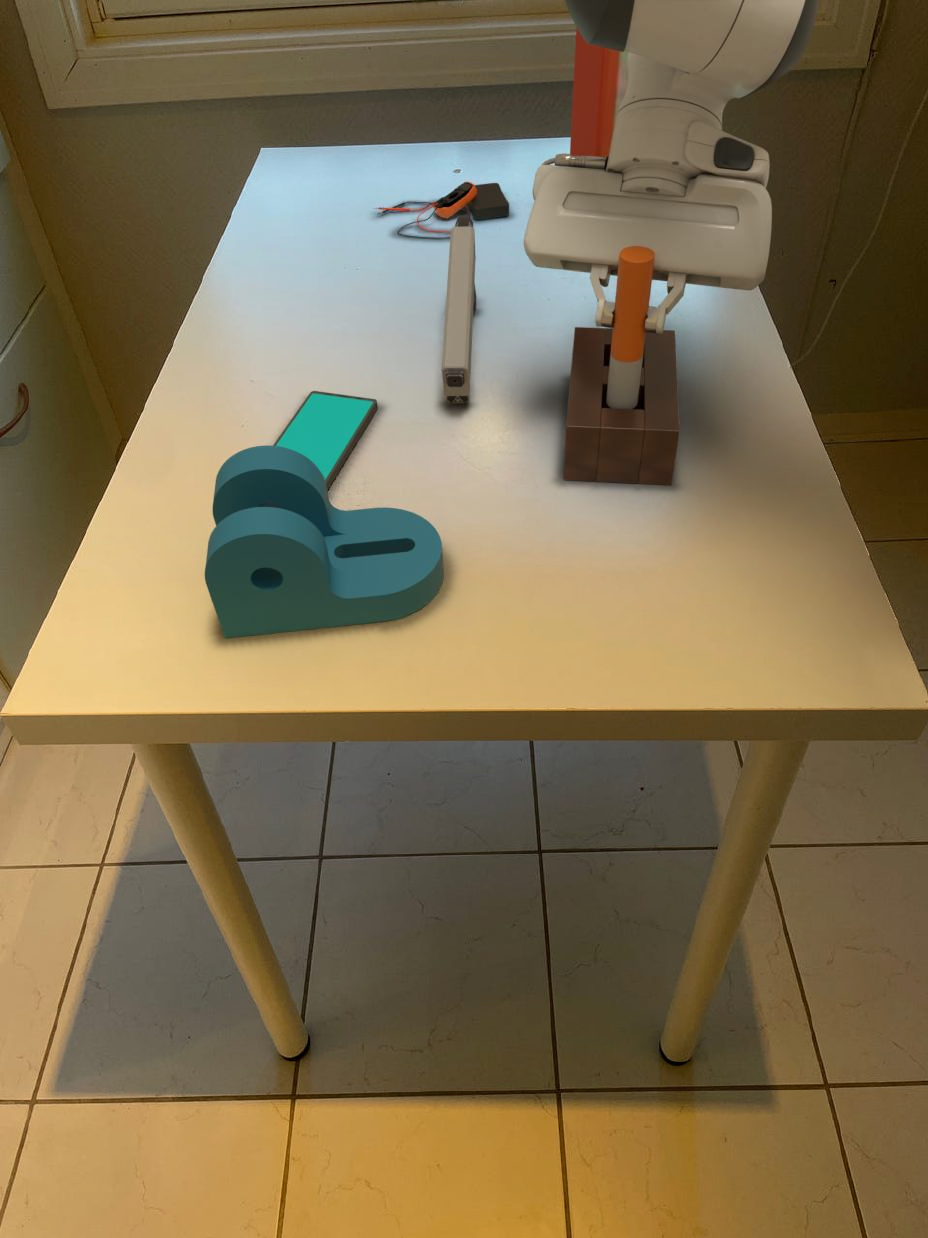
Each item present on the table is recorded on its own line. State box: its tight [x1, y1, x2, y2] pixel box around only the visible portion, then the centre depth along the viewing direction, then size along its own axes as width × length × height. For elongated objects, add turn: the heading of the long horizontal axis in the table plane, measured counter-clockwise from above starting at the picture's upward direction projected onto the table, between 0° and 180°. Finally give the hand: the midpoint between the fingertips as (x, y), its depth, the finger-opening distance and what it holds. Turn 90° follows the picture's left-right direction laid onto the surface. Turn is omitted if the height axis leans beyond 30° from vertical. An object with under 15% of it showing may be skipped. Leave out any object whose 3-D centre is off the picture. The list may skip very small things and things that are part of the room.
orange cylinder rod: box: [606, 246, 655, 409], centre depth 79 cm, size 3×3×14 cm
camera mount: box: [204, 445, 445, 639], centre depth 74 cm, size 18×10×10 cm, turn 96°
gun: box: [441, 214, 477, 404], centre depth 99 cm, size 2×25×10 cm, turn 177°
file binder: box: [569, 26, 628, 172], centre depth 110 cm, size 8×17×32 cm, turn 4°
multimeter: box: [374, 181, 510, 240], centre depth 122 cm, size 18×12×3 cm, turn 96°
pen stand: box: [562, 326, 681, 486], centre depth 88 cm, size 10×17×6 cm, turn 173°
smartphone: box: [272, 390, 378, 491], centre depth 90 cm, size 7×1×15 cm
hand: (628, 328), depth 78 cm, fingers closed on orange cylinder rod, 3 cm apart
